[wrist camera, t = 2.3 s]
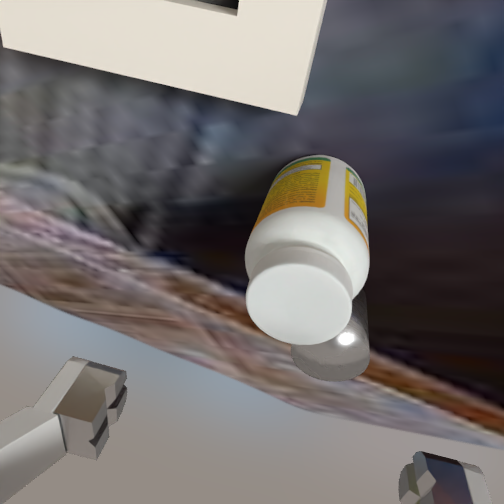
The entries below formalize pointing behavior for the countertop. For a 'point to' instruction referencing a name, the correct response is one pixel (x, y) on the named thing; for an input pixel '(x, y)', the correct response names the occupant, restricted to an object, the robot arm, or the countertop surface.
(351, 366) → the short stub
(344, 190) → the supplement bottle
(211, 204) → the countertop surface
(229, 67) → the bore plate
